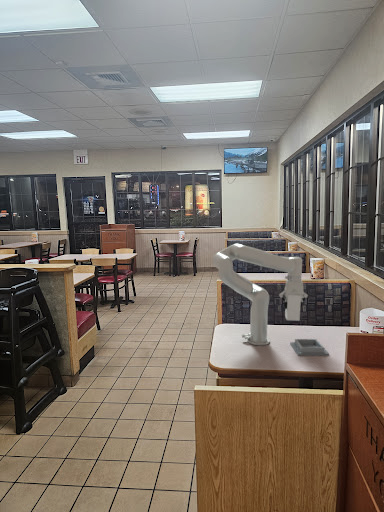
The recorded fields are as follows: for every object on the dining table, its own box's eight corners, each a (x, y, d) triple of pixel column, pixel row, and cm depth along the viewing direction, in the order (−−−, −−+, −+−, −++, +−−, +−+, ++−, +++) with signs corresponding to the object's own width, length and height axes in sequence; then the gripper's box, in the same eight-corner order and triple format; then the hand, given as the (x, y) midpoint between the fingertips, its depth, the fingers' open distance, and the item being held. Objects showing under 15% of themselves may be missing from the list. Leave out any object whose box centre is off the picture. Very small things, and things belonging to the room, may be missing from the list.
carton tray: (298, 355, 185) (298, 349, 184) (290, 344, 200) (290, 338, 199) (329, 355, 185) (329, 349, 184) (318, 343, 200) (318, 337, 199)
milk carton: (297, 317, 210) (299, 285, 207) (299, 321, 203) (301, 288, 200) (284, 316, 211) (286, 285, 208) (286, 320, 204) (288, 288, 201)
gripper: (280, 279, 199) (279, 310, 202) (311, 280, 200) (309, 310, 202) (277, 276, 207) (276, 306, 210) (307, 277, 207) (305, 306, 210)
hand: (292, 308), depth 206 cm, fingers closed on milk carton, 7 cm apart
